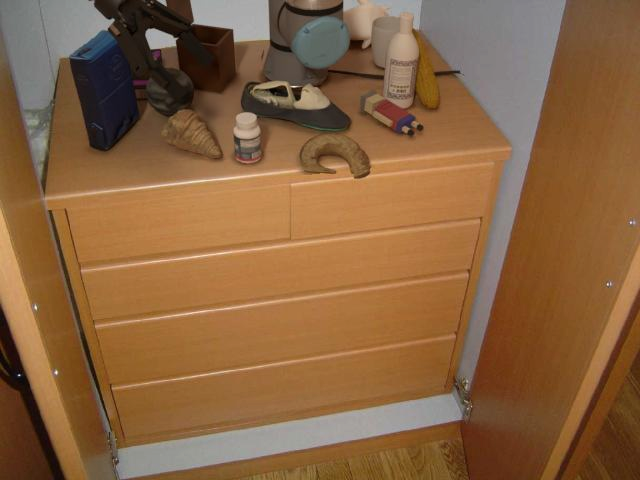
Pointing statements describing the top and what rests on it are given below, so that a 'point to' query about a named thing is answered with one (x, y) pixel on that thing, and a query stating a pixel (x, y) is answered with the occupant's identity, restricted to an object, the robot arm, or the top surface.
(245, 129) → the pill bottle
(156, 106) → the decorative stone
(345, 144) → the artifact
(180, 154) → the top surface
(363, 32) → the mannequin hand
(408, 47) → the bath foam
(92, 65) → the blue rectangular carton
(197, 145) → the seashell
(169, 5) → the lid
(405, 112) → the toy
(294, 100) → the ballet flat
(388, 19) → the mug
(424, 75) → the food
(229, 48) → the chest
